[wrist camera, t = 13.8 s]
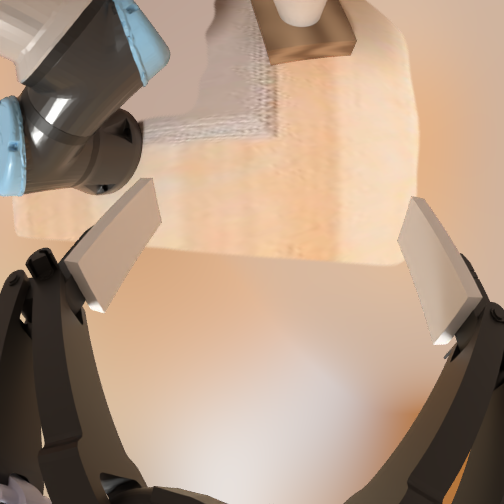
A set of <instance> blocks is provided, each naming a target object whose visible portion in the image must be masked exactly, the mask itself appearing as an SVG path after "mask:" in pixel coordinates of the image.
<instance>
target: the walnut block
mask: <svg viewBox="0 0 504 504" xmlns="http://www.w3.org/2000/svg"><path fill="white" fill-rule="evenodd" d="M251 3H252V6H253V10H254V13H255V16H256V19H257V22H258V25H259V28H260V31H261V34H262V37H263V41H264V44H265V47H266V50H267V54H268V57H269V61H270V64H271V65H276V64H282V63H288V62H294V61H300V60H307V59H315V58H324V57H335V56H348V55H351V53H352V51H353V48H354V46H355V44H356V42H357V40H356V38H355V35H354V33H353V31H352V28H351V26H350V24H349V22H348V19H347V17H346V15H345V13H344V11H343V9H342V7H341V5H340V3H339V1H338V0H327V2H326V4H325V7H324V9H323V12H322V14H321V17H320V19H319V21H318V22H317V23H315V24H313V25H311V26H307V27H297V26H292V25H290V24H287V23H286V22H284V21H283V20H282V19H281V18H280V16H279V13H278V11H277V8H276V6H275V3H274V1H273V0H251Z"/></svg>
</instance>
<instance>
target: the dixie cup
mask: <svg viewBox="0 0 504 504" xmlns="http://www.w3.org/2000/svg"><path fill="white" fill-rule="evenodd" d="M273 1H274V3H275V6H276V8H277V11H278V13H279V16H280V18H281V19H282V20H283V21H284V22H286V23H287V24H290V25H292V26H297V27H307V26H311V25H313V24H315V23H317V22H318V21H319V19H320V17H321V14H322V12H323V9H324V7H325V4H326V2H327V0H273Z"/></svg>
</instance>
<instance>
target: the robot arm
mask: <svg viewBox="0 0 504 504" xmlns="http://www.w3.org/2000/svg"><path fill="white" fill-rule="evenodd" d="M0 56H2V57H4V58H6V59H8V60H10V61H12V62H13V63H14V65H15V67H16V76H17V81H18V82H19V83H21V84H23V85H26V87H25V89H24V90H23V91H22V93H21V94H20V96H19V97H15V96H12V95H11V96H9V97H5V98H3V99H2V100H0V196H22V195H23V194H29V193H35V192H41V191H48V190H55V189H63V188H70V187H72V188H75V189H77V190H80V191H83V192H85V193H88V194H91V195H104V194H110V193H113V192H116V191H117V190H119V189H121V188H122V187H123V186H124V185H125V184H126V183H127V182H128V181H129V180H130V178H131V177H132V175H133V174H134V172H135V170H136V168H137V165H138V163H139V159H140V155H141V148H142V138H141V132H140V128H139V126H138V123H137V121H136V120H135V119H134V117H133V116H132V115H131V114H130V113H129V112H127V111H125V110H123V109H120V107H121V106H122V105H123V104H124V103H125V102H126V101H127V100H128V99H129V98H130V97H131V96H132V95H133V94H134V93H135V92H137V91H138V90H139V89H140V88H141V87H142V86H144V87H145V86H146V85H147V84H148V81H149V80H150V79H151V78H152V77H153V76H155V75H156V74H157V73H158V72H159V71H160V70H161V69H162V68H164V67H165V66H166V64H167V63H168V61H169V59H170V50H169V48H168V46H167V45H166V44H165V42H164V41H163V40H162V38H161V36H160V35H159V34H158V32H157V31H156V29H155V28H154V27H153V26H152V24H151V23H150V21H149V20H148V19H147V17H146V16H145V15H144V13H143V12H142V11H141V10H140V8H139V7H138V5H137V4H136V3H135V2H134V0H0ZM161 223H162V221H161V216H160V212H159V207H158V203H157V198H156V193H155V188H154V183H153V178H140V179H139V180H138V181H137V182H136V183H135V184H134V185H133V186H132V187H131V188H130V189H129V190H128V191H127V192H126V193H125V194H124V195H123V196H122V197H121V198H120V199H119V200H118V201H117V202H116V203H115V204H114V205H113V206H112V207H111V208H110V209H109V210H108V211H107V212H106V213H105V214H104V215H103V216H102V217H101V218H100V219H99V220H98V222H97V223H96V224H95V225H94V226H92V227H91V228H89V229H88V230H87V231H85V232H84V233H83V235H82V236H81V237H80V238H79V240H77V241H76V243H75V244H74V246H72V247H71V249H70V250H69V251H68V252H67V253H66V255H65V256H64V257H63V258H62V259H61V261H60V262H59V263H57V261H56V259H55V257H54V255H53V253H52V251H51V250H50V249H49V248H42V249H39V250H37V251H36V252H34V253H33V254H32V255H31V256H30V257H29V258H28V260H27V262H26V266H27V268H28V270H29V271H30V273H31V275H32V277H33V278H28V277H27V275H26V274H25V272H24V271H23V270H17V271H15V272H13V273H11V274H10V275H9V277H8V278H7V279H6V281H5V283H4V285H3V288H2V290H1V293H0V504H227V503H224V502H221V501H219V500H217V499H214V498H212V497H210V496H208V495H203V494H199V493H195V492H191V491H187V490H183V489H179V488H168V487H158V486H154V487H147V485H146V483H145V481H144V479H143V477H142V475H141V473H140V472H139V470H138V468H137V467H136V465H135V464H134V463H133V462H132V461H131V460H130V459H129V457H128V456H127V454H126V453H125V450H124V448H123V446H122V443H121V441H120V438H119V436H118V433H117V431H116V428H115V425H114V422H113V420H112V417H111V414H110V411H109V408H108V405H107V402H106V399H105V396H104V392H103V389H102V386H101V382H100V378H99V375H98V371H97V367H96V363H95V359H94V355H93V350H92V346H91V341H90V336H89V331H88V326H87V320H86V314H85V310H84V309H83V307H82V305H83V304H84V302H85V301H86V302H87V303H88V305H89V307H90V308H91V310H95V311H98V312H103V313H105V311H106V310H107V308H108V306H109V305H110V303H111V301H112V299H113V298H114V296H115V294H116V292H117V291H118V289H119V287H120V286H121V284H122V282H123V281H124V279H125V278H126V276H127V274H128V273H129V271H130V269H131V268H132V266H133V265H134V263H135V262H136V260H137V258H138V257H139V255H140V254H141V252H142V251H143V249H144V248H145V246H146V245H147V243H148V242H149V240H150V239H151V237H152V236H153V234H154V233H155V231H156V230H157V228H158V227H159V226H160V224H161ZM397 241H398V243H399V246H400V248H401V251H402V253H403V256H404V258H405V261H406V263H407V266H408V268H409V271H410V274H411V276H412V279H413V282H414V285H415V288H416V290H417V293H418V296H419V299H420V302H421V305H422V309H423V312H424V315H425V318H426V321H427V325H428V329H429V332H430V336H431V340H432V343H433V345H440V344H448V342H449V341H450V340H451V339H452V338H453V336H454V335H455V336H456V340H457V343H456V344H455V345H454V346H453V347H452V349H451V350H450V351H449V352H448V353H447V354H446V355H445V356H444V359H446V358H447V357H448V356H449V357H448V359H447V362H446V364H445V366H444V368H443V370H442V372H441V375H440V377H439V379H438V380H437V383H436V384H435V386H434V388H433V390H432V392H431V394H430V396H429V398H428V400H427V401H426V403H425V405H424V406H423V408H422V410H421V412H420V413H419V415H418V417H417V418H416V420H415V421H414V423H413V424H412V426H411V428H410V429H409V431H408V432H407V434H406V435H405V437H404V438H403V440H402V441H401V443H400V444H399V445H398V447H397V448H396V449H395V451H394V452H393V453H392V455H391V456H390V457H389V459H388V460H387V461H386V463H385V464H384V465H383V466H382V468H381V469H380V470H379V471H378V473H377V474H376V475H375V477H373V479H372V480H371V481H370V482H369V483H368V484H367V485H366V486H365V487H364V488H363V489H362V490H360V491H358V492H357V493H355V494H354V495H353V496H352V497H350V498H349V499H348V500H347V501H346V502H345V503H344V504H442V502H443V498H444V496H445V495H446V493H447V491H448V490H449V488H450V486H451V485H452V483H453V481H454V480H455V478H456V476H457V474H458V473H459V471H460V469H461V467H462V465H463V463H464V462H465V459H466V458H467V456H468V454H469V452H470V454H469V457H468V461H467V464H466V467H465V470H464V473H463V476H462V479H461V481H460V484H459V487H458V489H457V492H456V494H455V497H454V499H453V502H452V504H504V310H503V308H502V307H501V306H500V305H498V304H496V303H494V302H490V301H489V299H488V296H487V294H486V292H485V290H484V288H483V286H482V284H481V282H480V280H479V279H478V277H477V275H476V273H475V272H474V269H473V267H472V265H471V263H470V262H469V261H468V260H467V259H466V257H465V256H464V255H463V254H461V253H459V252H458V250H457V248H456V246H455V245H454V243H453V242H452V240H451V238H450V236H449V235H448V233H447V232H446V230H445V229H444V227H443V226H442V224H441V222H440V221H439V220H438V218H437V217H436V215H435V214H434V212H433V211H432V209H431V208H430V207H429V205H428V204H427V202H426V201H425V199H423V198H418V197H412V196H411V200H410V203H409V206H408V210H407V213H406V216H405V219H404V222H403V226H402V229H401V232H400V234H399V237H398V240H397ZM21 313H22V315H23V316H24V317H25V318H26V321H25V323H23V322H22V321H21V320H20V314H21ZM41 427H42V431H43V436H44V441H45V445H44V447H43V448H42V442H41ZM470 450H471V451H470ZM44 483H45V486H46V488H47V492H48V494H49V497H50V499H49V498H47V497H46V496H43V490H44ZM106 494H107V495H106ZM107 496H108V497H109V499H108V497H107ZM50 500H51V501H50Z"/></svg>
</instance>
